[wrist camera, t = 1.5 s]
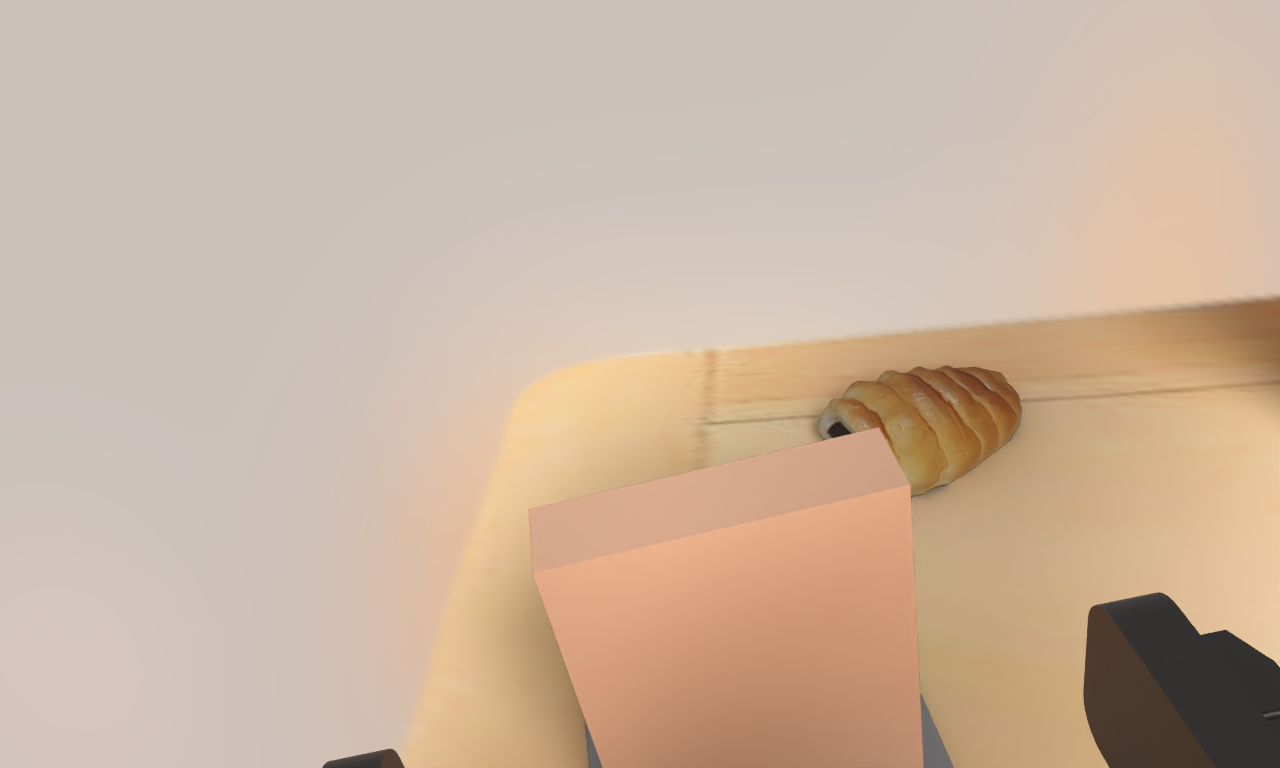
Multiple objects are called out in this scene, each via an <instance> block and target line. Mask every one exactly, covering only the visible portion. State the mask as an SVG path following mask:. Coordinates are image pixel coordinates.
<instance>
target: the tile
mask: <svg viewBox="0 0 1280 768" xmlns="http://www.w3.org/2000/svg"><path fill="white" fill-rule="evenodd" d="M529 521H530V538H531V555H532V572H533V576H534V579H535V581H536V584H537V587H538V590H539V593H540V595H541V598H542V601H543V604H544V606H545V609H546V612H547V615H548V618H549V620H550V623H551V626H552V629H553V631H554V634H555V637H556V640H557V643H558V645H559V648H560V651H561V654H562V656H563V659H564V662H565V665H566V668H567V670H568V673H569V676H570V679H571V681H572V684H573V687H574V690H575V693H576V695H577V698H578V701H579V704H580V706H581V709H582V712H583V715H584V718H585V720H586V723H587V726H588V729H589V731H590V734H591V737H592V740H593V743H594V745H595V748H596V751H597V754H598V756H599V759H600V762H601V765H602V768H924V765H923V744H922V723H921V702H920V681H919V660H918V639H917V618H916V597H915V576H914V555H913V534H912V513H911V492H910V484H909V482H908V480H907V478H906V476H905V475H904V473H903V471H902V469H901V467H900V465H899V464H898V462H897V460H896V458H895V456H894V454H893V453H892V451H891V449H890V447H889V445H888V443H887V442H886V440H885V438H884V436H883V434H882V432H881V431H880V429H879V428H874V429H870V430H866V431H862V432H857V433H853V434H849V435H845V436H840V437H836V438H832V439H828V440H823V441H819V442H815V443H810V444H806V445H802V446H798V447H793V448H789V449H785V450H781V451H776V452H772V453H768V454H764V455H759V456H755V457H751V458H746V459H742V460H738V461H734V462H729V463H725V464H721V465H717V466H712V467H708V468H704V469H699V470H695V471H691V472H687V473H682V474H678V475H674V476H670V477H665V478H661V479H657V480H653V481H648V482H644V483H640V484H635V485H631V486H627V487H623V488H618V489H614V490H610V491H606V492H601V493H597V494H593V495H589V496H584V497H580V498H576V499H571V500H567V501H563V502H559V503H554V504H550V505H546V506H542V507H537V508H533V509H529Z"/></svg>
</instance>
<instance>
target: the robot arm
mask: <svg viewBox="0 0 1280 768" xmlns="http://www.w3.org/2000/svg"><path fill="white" fill-rule="evenodd" d="M1084 706H1085V711H1086V716H1087V720H1088V723H1089V726H1090V729H1091V732H1092V735H1093V737H1094V739H1095V742H1096V744H1097V746H1098V748H1099V750H1100V752H1101V754H1102V755H1103V757H1104V759H1105V760H1106V762H1107V764H1108V766H1109V767H1110V768H1280V667H1279V666H1278V665H1277V664H1276V663H1275V661H1273V660H1272V659H1270V658H1269V657H1267V656H1265V655H1264V654H1262V653H1261V652H1259V651H1258V650H1256V649H1255V648H1253V647H1252V646H1250V645H1249V644H1247V643H1245V642H1244V641H1242V640H1241V639H1239V638H1238V637H1236V636H1235V635H1233V634H1232V633H1230V632H1228V631H1227V630H1223V631H1218V632H1213V633H1208V634H1203V635H1200V634H1199V633H1198V631H1197V630H1196V629H1195V628H1194V626H1193V625H1192V624H1191V623H1190V621H1189V620H1188V619H1187V617H1186V616H1185V615H1184V614H1183V612H1182V611H1181V610H1180V608H1179V607H1178V606H1177V605H1176V604H1175V602H1174V601H1173V600H1172V599H1171V598H1169V597H1168V596H1167V595H1165V594H1163V593H1160V592H1159V593H1152V594H1148V595H1143V596H1138V597H1133V598H1128V599H1123V600H1119V601H1114V602H1109V603H1104V604H1099V605H1094V606H1093V607H1092V608H1091V609H1090V611H1089V616H1088V628H1087V644H1086V660H1085V676H1084ZM323 768H404V765H403V763H402V761H401V759H400V757H399V756H398V754H397V753H396V751H394V750H393V749H386V750H381V751H377V752H372V753H367V754H362V755H357V756H352V757H348V758H343V759H338V760H333V761H329V762H327V763H326V764H325V765H324V766H323Z"/></svg>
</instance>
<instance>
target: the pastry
mask: <svg viewBox="0 0 1280 768" xmlns="http://www.w3.org/2000/svg"><path fill="white" fill-rule="evenodd" d="M1021 413H1022V408H1021V405H1020V398H1019V395H1018V394H1017V392H1016V391H1015V390H1014V389H1013V387H1011V386H1010V385H1009V384H1008V382H1007V380H1006V378H1005V377H1004V376H1003V375H1002V374H1001V373H1000V372H996V371H990V370H986V369H981V368H977V367H968V368H952V367H950V366H943V367H941V368H938V369H936V370H928V369H925V368H922V367H916V368H914V369H912V370H911V371H909V372H908V373H899V372H896V371H886V372H884V373H883V374H882V375H881V376H880V377H879V378H878V380H877V382H864V381H857V382H855V383H853V384H852V385H851V386H850V387H849V388H848V389H847V391H846V392H845V394H844V396H843V399H834V400H832V401H831V402H830V404H829V406H828V407H827V409H826V410H825V411H824V412H823V414H822V417H821V418H820V420H819V433H820V435H821V436H822V437H823V439H824V440H828V439H832V438H836V437H840V436H845V435H849V434H853V433H857V432H862V431H866V430H870V429H874V428H879V429H880V431H881V432H882V434H883V436H884V438H885V440H886V442H887V443H888V445H889V447H890V449H891V451H892V453H893V454H894V456H895V458H896V460H897V462H898V464H899V465H900V467H901V469H902V471H903V473H904V475H905V476H906V478H907V480H908V482H909V484H910V492H911V496H916V495H923V494H924V493H925V492H926V491H928V490H930V489H932V488H934V487H936V486H940V485H944V486H946V485H948V484H949V483H951V482H952V481H954V480H955V479H957V478H959V477H961V476H963V475H964V474H965V473H966V472H967V471H969V470H972V469H973V468H975V467H976V466H977V465H978V464H980V463H981V462H982V461H984V460H985V459H986V458H988V457H989V456H991V455H992V454H993V453H995V452H996V451H997V450H999V449H1000V448H1001V447H1002V446H1003V445H1005V444H1006V443H1007V442H1008V441H1009V440H1010V439H1011V438H1012V436H1013V434H1014V432H1015V430H1016V429H1017V427H1018V426H1019V422H1020V418H1021Z"/></svg>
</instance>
